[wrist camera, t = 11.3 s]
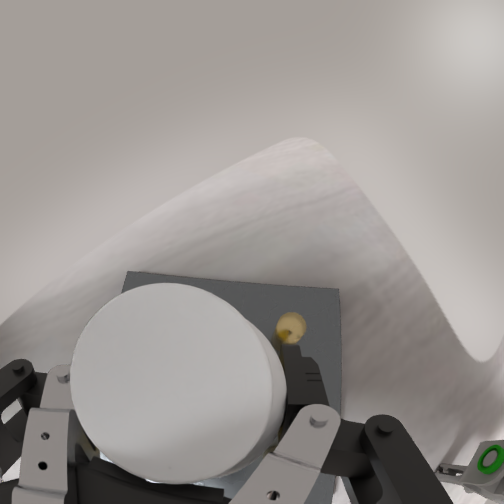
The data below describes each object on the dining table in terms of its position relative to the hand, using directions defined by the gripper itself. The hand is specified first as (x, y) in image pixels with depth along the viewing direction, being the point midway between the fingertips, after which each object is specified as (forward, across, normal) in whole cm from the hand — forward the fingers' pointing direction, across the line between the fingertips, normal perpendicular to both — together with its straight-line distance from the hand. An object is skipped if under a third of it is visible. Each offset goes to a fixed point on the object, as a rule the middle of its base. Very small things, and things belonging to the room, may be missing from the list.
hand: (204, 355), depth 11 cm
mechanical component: (-1, -18, +12) cm, 22 cm away
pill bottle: (+3, 0, +5) cm, 6 cm away
